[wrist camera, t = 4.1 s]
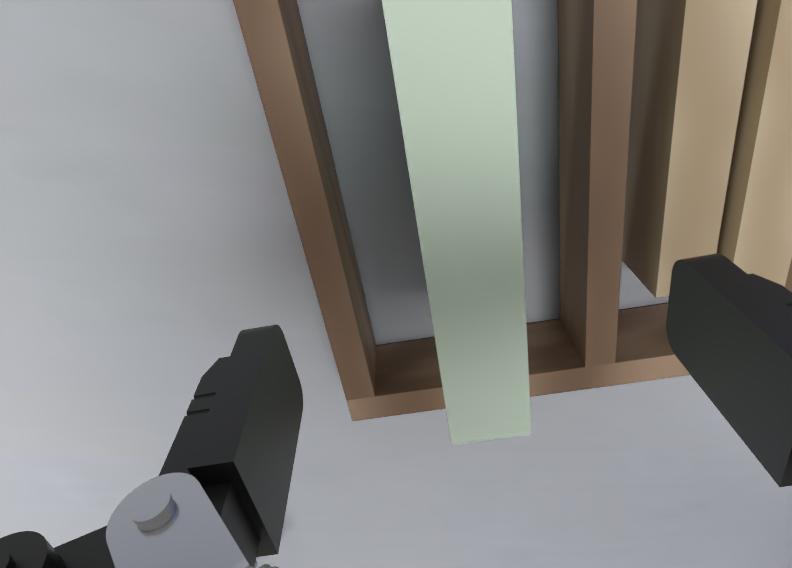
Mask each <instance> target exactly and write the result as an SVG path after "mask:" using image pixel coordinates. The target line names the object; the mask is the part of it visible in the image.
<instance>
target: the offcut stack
mask: <svg viewBox="0 0 792 568" xmlns="http://www.w3.org/2000/svg"><path fill="white" fill-rule="evenodd" d="M716 253H718V254H722V255H724V256H725V257H727V258H728V259H729V260H730V261H732V262H733V263H734V264H735V265H737V266H738V267H739V268H740V269H742V270H743V271H744V272H745V273H747V274H752V273H753V274H756V275H758V276H761V277H763V278H766V279H768V280H771V281H773V282H775V283H778V284H780V285H783V286H784V287H785V283H786V279H787V275H788V271H789V267H790V263H791V259H792V0H637V11H636V28H635V44H634V61H633V77H632V94H631V110H630V127H629V143H628V160H627V176H626V193H625V209H624V226H623V242H622V260H623V262H624V263H625V264H626V265H627V266H628V267H629V268H630V269H631V271H632V272H633V273H634V274H635V275H636V276H637V277H638V278H639V280H640V281H641V282H642V283H643V284H644V285H645V286H646V287H647V289H648V290H649V291H650V292H651V293H652V294H653V295H654V296H655V298H659V297H665V296H669V292H670V283H671V274H672V268H673V265H674V263H675V262H676V261H677V260H680V259H686V258H692V257H698V256H704V255H710V254H716Z"/></svg>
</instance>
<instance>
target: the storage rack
mask: <svg viewBox="0 0 792 568" xmlns="http://www.w3.org/2000/svg"><path fill="white" fill-rule="evenodd" d="M233 2H234V5H235V9H236V12H237V16H238V19H239V23H240V26H241V30H242V33H243V37H244V40H245V44H246V47H247V51H248V54H249V58H250V62H251V65H252V69H253V72H254V76H255V79H256V83H257V86H258V90H259V93H260V97H261V100H262V104H263V107H264V111H265V114H266V118H267V121H268V125H269V129H270V132H271V136H272V139H273V143H274V146H275V150H276V153H277V157H278V160H279V164H280V167H281V171H282V174H283V178H284V181H285V185H286V188H287V192H288V196H289V199H290V203H291V206H292V210H293V213H294V217H295V220H296V224H297V227H298V231H299V234H300V238H301V241H302V245H303V248H304V252H305V255H306V259H307V263H308V266H309V270H310V273H311V277H312V280H313V284H314V287H315V291H316V294H317V298H318V301H319V305H320V308H321V312H322V315H323V319H324V322H325V326H326V330H327V333H328V337H329V340H330V344H331V347H332V351H333V354H334V358H335V361H336V365H337V368H338V372H339V375H340V379H341V382H342V386H343V389H344V393H345V397H346V400H347V404H348V407H349V411H350V414H351V418H352V421H358V420H365V419H372V418H380V417H387V416H394V415H401V414H409V413H416V412H423V411H430V410H438V409H445V408H446V406H445V400H444V393H443V387H442V381H441V374H440V368H439V362H438V355H437V349H436V342H435V337H433V338H426V339H419V340H412V341H405V342H399V343H392V344H385V345H378V346H376V345H375V340H374V336H373V331H372V327H371V323H370V318H369V314H368V310H367V305H366V301H365V297H364V292H363V288H362V284H361V279H360V275H359V270H358V266H357V262H356V257H355V253H354V249H353V244H352V240H351V236H350V231H349V227H348V223H347V218H346V214H345V210H344V205H343V201H342V196H341V192H340V188H339V183H338V179H337V175H336V170H335V166H334V162H333V157H332V153H331V149H330V144H329V140H328V136H327V131H326V127H325V122H324V118H323V114H322V109H321V105H320V101H319V96H318V92H317V88H316V83H315V79H314V75H313V70H312V66H311V62H310V57H309V53H308V48H307V44H306V40H305V35H304V31H303V27H302V22H301V18H300V14H299V9H298V5H297V1H296V0H233ZM636 11H637V0H558V87H559V229H560V319H556V320H549V321H542V322H535V323H528V324H526V325H527V346H528V368H529V389H530V397H532V396H540V395H547V394H554V393H561V392H569V391H576V390H583V389H591V388H598V387H605V386H612V385H620V384H627V383H634V382H641V381H649V380H656V379H663V378H671V377H678V376H685V375H690V373H689V372H688V371H687V369H686V368H685V367H684V366H683V364H682V363H681V362H680V361H679V359H678V358H677V357H676V356H675V354H674V353H673V351H672V349H671V347H670V344H669V341H668V338H667V332H666V320H667V310H668V303H665V304H658V305H652V306H645V307H638V308H631V309H624V310H618V309H619V292H620V276H621V259H622V242H623V226H624V209H625V193H626V176H627V160H628V143H629V127H630V110H631V94H632V77H633V61H634V44H635V28H636ZM785 288H786V289H788V290H789V291H790V292H792V259H791V263H790V267H789V271H788V275H787V279H786V283H785Z"/></svg>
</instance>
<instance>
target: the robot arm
mask: <svg viewBox="0 0 792 568" xmlns="http://www.w3.org/2000/svg"><path fill="white" fill-rule="evenodd" d="M666 332H667V338H668V341H669V344H670V347H671V349H672V351H673V353H674V354H675V356H676V357H677V358H678V359H679V361H680V362H681V363H682V364H683V366H684V367H685V368H686V369H687V371H688V372H689V373H690V375H691V376H692V377H693V378H694V380H695V381H696V382H697V383H698V385H699V386H700V387H701V388H702V390H703V391H704V392H705V393H706V395H707V396H708V397H709V398H710V400H711V401H712V402H713V404H714V405H715V406H716V407H717V409H718V410H719V411H720V412H721V414H722V415H723V416H724V417H725V419H726V420H727V421H728V422H729V424H730V425H731V426H732V427H733V429H734V430H735V431H736V433H737V434H738V435H739V436H740V438H741V439H742V440H743V441H744V443H745V444H746V445H747V446H748V448H749V449H750V450H751V451H752V453H753V454H754V455H755V456H756V458H757V459H758V460H759V462H760V463H761V464H762V465H763V467H764V468H765V469H766V470H767V472H768V473H769V474H770V475H771V477H772V478H773V479H774V480H775V482H776V483H777V484H778V485H779V487H784V486H791V485H792V292H790V291H789V290H788V289H786V288H785V287H784V286H783V285H780V284H778V283H775V282H773V281H771V280H768V279H766V278H763V277H761V276H758V275H756V274H753V273H752V274H747V273H745V272H744V271H743V270H742V269H740V268H739V267H738V266H737V265H735V264H734V263H733V262H732V261H730V260H729V259H728V258H727V257H725V256H724V255H722V254H718V253H716V254H710V255H704V256H698V257H692V258H686V259H680V260H677V261H676V262H675V263H674V265H673V268H672V274H671V283H670V292H669V301H668V310H667V320H666ZM302 411H303V395H302V388H301V384H300V380H299V377H298V374H297V371H296V368H295V366H294V363H293V360H292V357H291V354H290V351H289V348H288V346H287V343H286V340H285V337H284V334H283V332H282V330H281V328H280V327H279V326H278V325H271V326H265V327H259V328H253V329H247V330H242V331H241V332H240V333H239V335H238V338H237V340H236V343H235V345H234V348H233V350H232V353H231V356H230V357H224V358H219V359H218V360H217V361H216V362H215V363H214V364H213V365H212V367H211V368H210V369H209V370H208V371H207V372H206V373H205V374H204V375H203V376H202V378H201V380H200V383H199V385H198V387H197V389H196V392H195V394H194V400H192V401H191V403H190V405H189V408H188V410H187V416H185V417H184V419H183V421H182V424H181V426H180V428H179V431H178V433H177V435H176V437H175V440H174V442H173V444H172V447H171V449H170V451H169V453H168V456H167V458H166V460H165V463H164V465H163V467H162V469H161V472H160V474H159V476H158V477H155V478H153V479H151V480H149V481H147V482H145V483H143V484H142V485H140V486H139V487H137V488H136V489H134V490H133V491H132V492H131V493H130V494H128V495H127V496H126V497H125V498H124V499H123V500H122V501H121V503H120V504H119V505H118V506H117V508H116V509H115V511H114V512H113V514H112V515H111V518H110V520H109V522H108V525H107V526H105V527H103V528H101V529H98V530H96V531H93V532H91V533H89V534H86V535H84V536H81V537H79V538H77V539H74V540H72V541H69V542H67V543H65V544H62V545H60V546H57V547H55V548H53V547H52V546H51V545H50V544H49V542H48V541H47V540H46V539H45V538H44V537H43V536H42V535H41V534H39V533H37V532H34V531H24V532H18V533H14V534H10V535H8V536H5V537H3V538H1V539H0V568H254V566H255V561H256V557H259V556H267V555H274V554H278V552H279V546H280V540H281V534H282V528H283V522H284V516H285V511H286V505H287V499H288V493H289V487H290V481H291V475H292V470H293V464H294V458H295V452H296V446H297V440H298V434H299V429H300V423H301V417H302Z"/></svg>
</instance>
